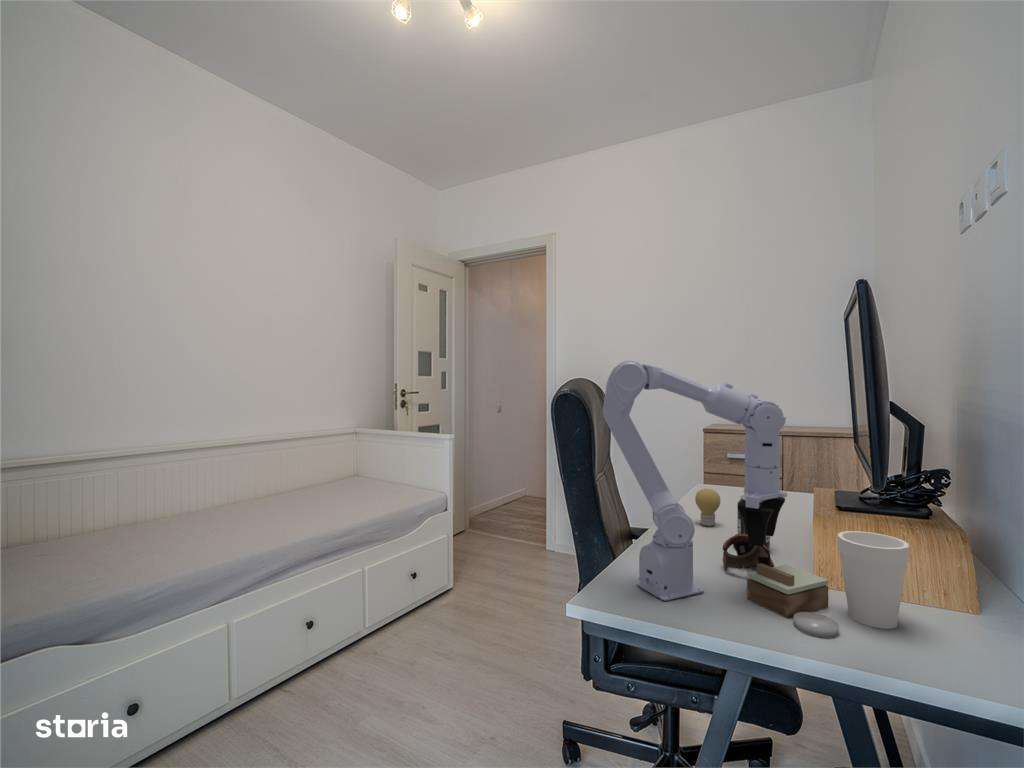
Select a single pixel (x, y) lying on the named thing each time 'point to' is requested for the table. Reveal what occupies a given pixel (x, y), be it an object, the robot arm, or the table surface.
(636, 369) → the robot arm
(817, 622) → the grey piece
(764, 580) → the lid
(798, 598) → the box
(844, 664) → the table surface
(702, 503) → the light bulb
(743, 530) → the beverage can
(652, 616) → the table surface
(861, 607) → the foam cup
